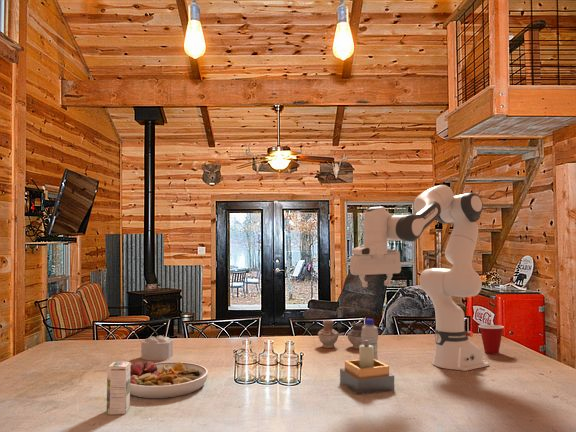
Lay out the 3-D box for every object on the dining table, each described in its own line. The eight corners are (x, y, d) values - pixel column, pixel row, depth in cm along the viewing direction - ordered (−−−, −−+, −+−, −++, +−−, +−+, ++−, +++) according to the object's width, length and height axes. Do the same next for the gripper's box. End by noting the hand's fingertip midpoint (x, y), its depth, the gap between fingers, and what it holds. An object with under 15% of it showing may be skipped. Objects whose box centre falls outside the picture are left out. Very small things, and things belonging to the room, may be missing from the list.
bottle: (378, 372, 195) (377, 320, 196) (360, 371, 197) (360, 320, 197) (378, 367, 202) (378, 317, 202) (361, 366, 203) (361, 317, 204)
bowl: (221, 379, 189) (221, 357, 189) (180, 406, 161) (180, 381, 161) (152, 372, 199) (152, 351, 199) (101, 396, 170) (101, 372, 170)
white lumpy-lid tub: (167, 360, 214) (167, 340, 214) (137, 360, 215) (137, 339, 215) (174, 354, 225) (174, 334, 225) (146, 354, 226) (146, 334, 226)
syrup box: (111, 408, 158) (111, 361, 158) (130, 407, 158) (130, 361, 159) (106, 415, 152) (106, 366, 153) (126, 414, 153) (126, 366, 153)
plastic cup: (496, 349, 232) (495, 322, 232) (509, 354, 221) (509, 327, 222) (473, 349, 230) (473, 323, 231) (486, 355, 220) (486, 328, 220)
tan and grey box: (374, 378, 188) (374, 356, 188) (394, 390, 174) (394, 366, 175) (340, 382, 183) (340, 360, 183) (357, 394, 170) (357, 370, 170)
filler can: (369, 369, 182) (369, 338, 182) (376, 373, 177) (376, 341, 177) (357, 370, 180) (356, 339, 181) (363, 374, 176) (363, 342, 176)
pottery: (318, 344, 244) (317, 319, 244) (370, 344, 242) (370, 319, 242) (317, 349, 233) (317, 323, 233) (372, 350, 230) (372, 324, 231)
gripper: (395, 248, 197) (395, 284, 197) (347, 249, 191) (348, 286, 190) (404, 249, 191) (404, 285, 191) (355, 250, 185) (355, 288, 184)
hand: (376, 286), depth 191 cm, fingers open, 8 cm apart
